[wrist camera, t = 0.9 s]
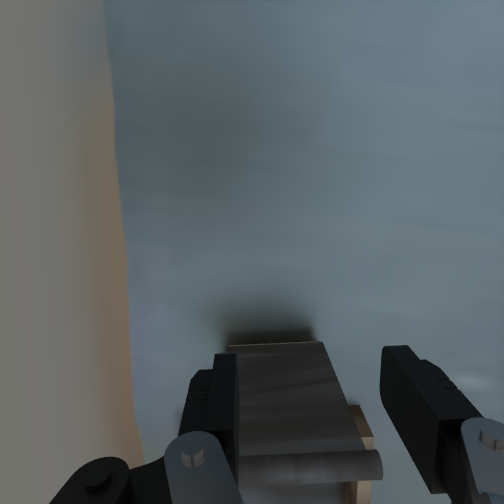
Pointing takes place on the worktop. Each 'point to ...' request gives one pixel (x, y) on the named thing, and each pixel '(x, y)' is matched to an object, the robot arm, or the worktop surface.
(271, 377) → the grey l-shaped piece
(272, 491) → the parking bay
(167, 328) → the worktop surface
